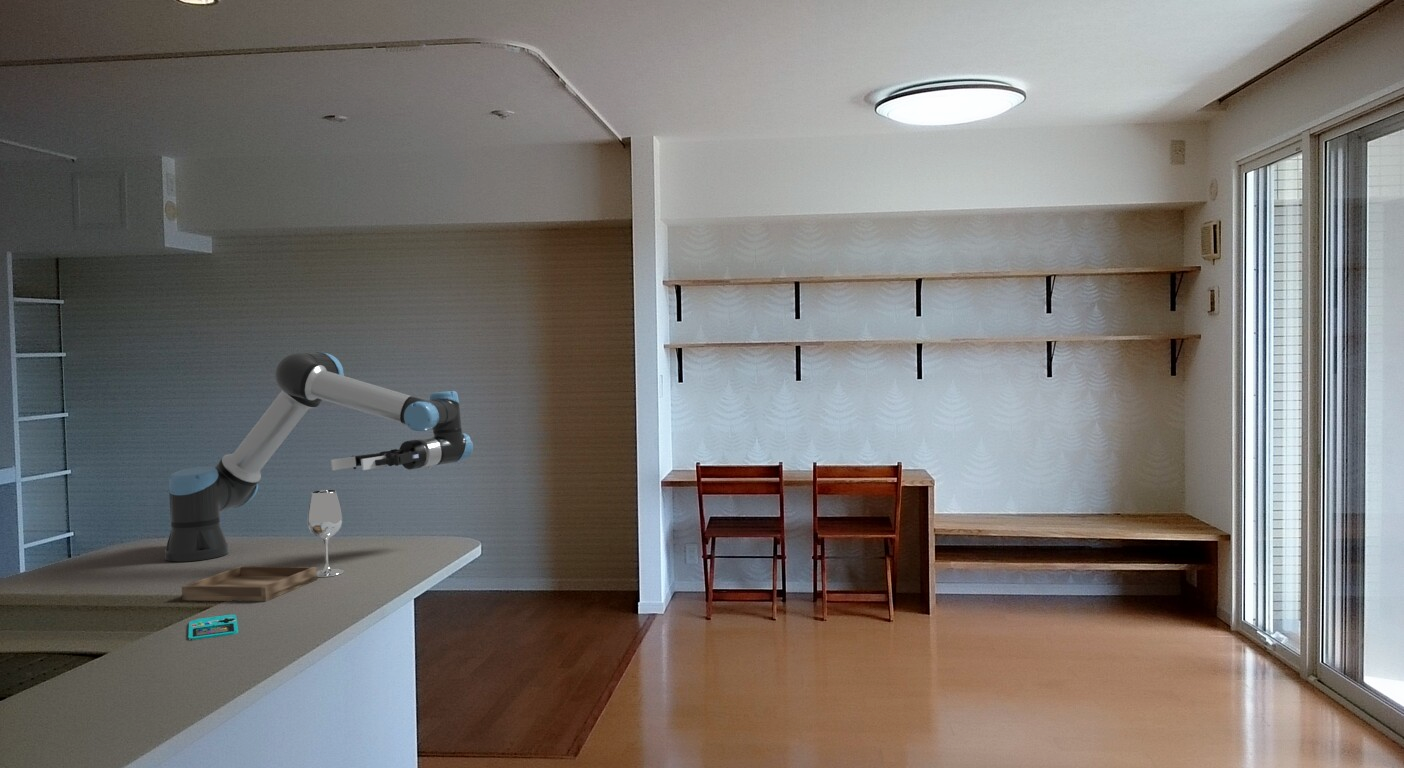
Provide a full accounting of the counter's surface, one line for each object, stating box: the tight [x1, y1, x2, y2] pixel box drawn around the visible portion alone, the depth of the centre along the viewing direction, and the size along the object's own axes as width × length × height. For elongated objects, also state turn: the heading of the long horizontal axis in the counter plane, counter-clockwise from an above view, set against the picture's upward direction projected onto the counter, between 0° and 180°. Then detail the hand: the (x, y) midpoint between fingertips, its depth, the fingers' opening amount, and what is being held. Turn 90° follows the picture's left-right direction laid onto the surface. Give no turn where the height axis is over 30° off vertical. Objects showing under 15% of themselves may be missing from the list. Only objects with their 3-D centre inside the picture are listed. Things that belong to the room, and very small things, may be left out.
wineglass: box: [307, 489, 345, 578], centre depth 236 cm, size 8×8×20 cm
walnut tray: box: [181, 565, 318, 602], centre depth 222 cm, size 20×20×3 cm
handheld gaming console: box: [187, 614, 239, 640], centre depth 190 cm, size 8×1×15 cm
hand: (346, 464), depth 242 cm, fingers open, 13 cm apart
